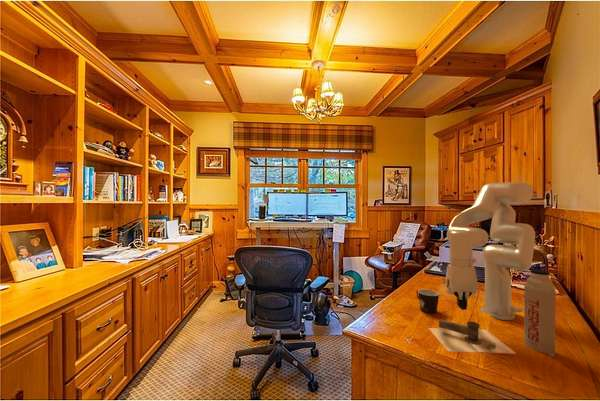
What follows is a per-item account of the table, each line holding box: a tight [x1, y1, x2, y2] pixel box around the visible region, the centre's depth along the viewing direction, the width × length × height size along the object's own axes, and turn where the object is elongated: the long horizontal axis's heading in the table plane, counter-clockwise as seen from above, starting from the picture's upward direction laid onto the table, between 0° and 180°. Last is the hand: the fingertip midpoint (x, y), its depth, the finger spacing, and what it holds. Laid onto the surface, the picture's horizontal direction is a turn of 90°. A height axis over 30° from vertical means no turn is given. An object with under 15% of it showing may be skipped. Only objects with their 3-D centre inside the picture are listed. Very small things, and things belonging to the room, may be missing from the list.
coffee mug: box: [416, 288, 440, 315], centre depth 123 cm, size 12×9×10 cm
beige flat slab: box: [428, 327, 517, 355], centre depth 97 cm, size 22×16×2 cm
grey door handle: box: [438, 319, 496, 345], centre depth 97 cm, size 18×4×5 cm, turn 49°
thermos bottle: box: [523, 268, 556, 358], centre depth 92 cm, size 8×8×28 cm
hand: (462, 308), depth 104 cm, fingers closed
